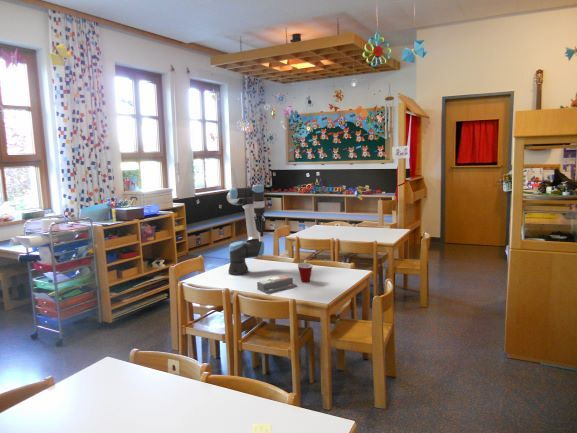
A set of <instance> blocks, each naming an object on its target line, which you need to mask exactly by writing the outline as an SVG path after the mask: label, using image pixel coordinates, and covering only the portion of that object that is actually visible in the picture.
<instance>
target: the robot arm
mask: <svg viewBox="0 0 577 433" xmlns="http://www.w3.org/2000/svg"><path fill="white" fill-rule="evenodd" d="M226 201H227V202H228V203H229V204H231V205H233V206H241V207H242V208H243V209H244V215H245V223H246V233H247V240H245V241H246V242H245V241H243V240H240V241H239V240H238V241H235V242H232V243H230V244H229V246H228V252H229V268H228V274H229V275H232V276H239V275H240V276H241V275H245V274H247V273H249V267H248V264H247V262H246V259H252V258H261V257H263V256H264V253H265V242H264V232H266V221H267V218H266V217H265V215H264V214H265V213H266V208H265V207H266V204H265V203H266V202H265V188H264V185H263V184H253V185H252V186H251V187H250V186H247V187H233V188H230V189H229V191H228V193H227V195H226Z"/></svg>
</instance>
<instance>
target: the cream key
mask: <svg viewBox="0 0 577 433" xmlns="http://www.w3.org/2000/svg"><path fill="white" fill-rule="evenodd" d="M279 277H280V276H273V277H269V278H268V280H269V281H272V282H277V281H281V278H279Z"/></svg>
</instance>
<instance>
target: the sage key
mask: <svg viewBox="0 0 577 433" xmlns="http://www.w3.org/2000/svg"><path fill="white" fill-rule="evenodd" d="M258 282H259V283H262V284H268V283H272V282H271V281H269V279H266V280H261V281H258Z"/></svg>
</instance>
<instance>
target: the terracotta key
mask: <svg viewBox="0 0 577 433" xmlns="http://www.w3.org/2000/svg"><path fill="white" fill-rule="evenodd" d="M278 277H279V278H281V279H282V280H285V279H289V278H290V277H291V276H288V275H282V276H278Z"/></svg>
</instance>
